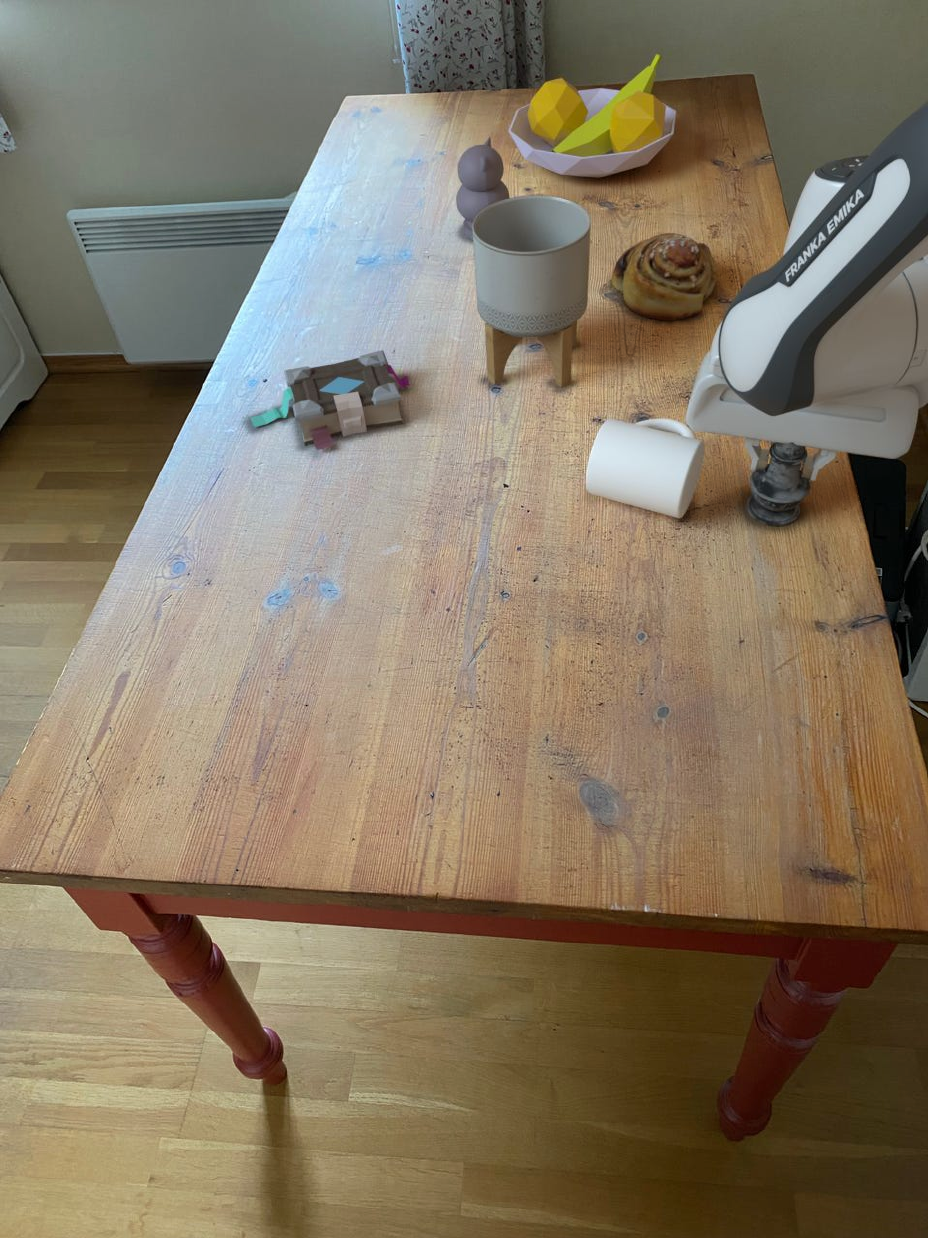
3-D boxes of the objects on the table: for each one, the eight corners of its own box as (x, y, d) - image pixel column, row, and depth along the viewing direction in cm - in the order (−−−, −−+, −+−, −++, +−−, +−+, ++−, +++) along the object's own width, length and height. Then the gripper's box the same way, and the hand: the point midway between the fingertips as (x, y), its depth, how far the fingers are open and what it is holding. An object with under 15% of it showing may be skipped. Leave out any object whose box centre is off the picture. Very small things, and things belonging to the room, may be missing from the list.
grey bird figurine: (460, 217, 136) (454, 134, 127) (512, 215, 135) (509, 132, 126) (455, 245, 131) (449, 160, 122) (509, 244, 130) (506, 159, 121)
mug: (675, 534, 90) (685, 474, 84) (583, 508, 94) (586, 448, 87) (710, 462, 97) (721, 402, 91) (623, 440, 100) (628, 380, 94)
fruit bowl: (561, 212, 135) (562, 133, 126) (484, 147, 152) (481, 74, 143) (716, 166, 141) (728, 88, 133) (627, 109, 158) (632, 37, 149)
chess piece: (805, 494, 93) (834, 399, 83) (799, 533, 89) (829, 437, 80) (747, 484, 94) (770, 390, 85) (739, 522, 91) (762, 427, 81)
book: (259, 468, 101) (248, 433, 97) (247, 406, 109) (237, 371, 105) (428, 429, 104) (423, 393, 100) (404, 371, 111) (400, 336, 108)
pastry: (653, 330, 114) (659, 271, 107) (594, 277, 123) (597, 220, 116) (740, 301, 116) (751, 242, 110) (677, 252, 125) (684, 195, 119)
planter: (540, 321, 117) (540, 183, 103) (606, 364, 109) (615, 223, 96) (460, 359, 112) (449, 221, 99) (524, 407, 105) (521, 265, 92)
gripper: (943, 344, 77) (894, 467, 88) (703, 318, 82) (685, 437, 93) (944, 387, 73) (893, 510, 84) (693, 356, 78) (675, 476, 89)
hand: (782, 472), depth 88 cm, fingers closed on chess piece, 3 cm apart
